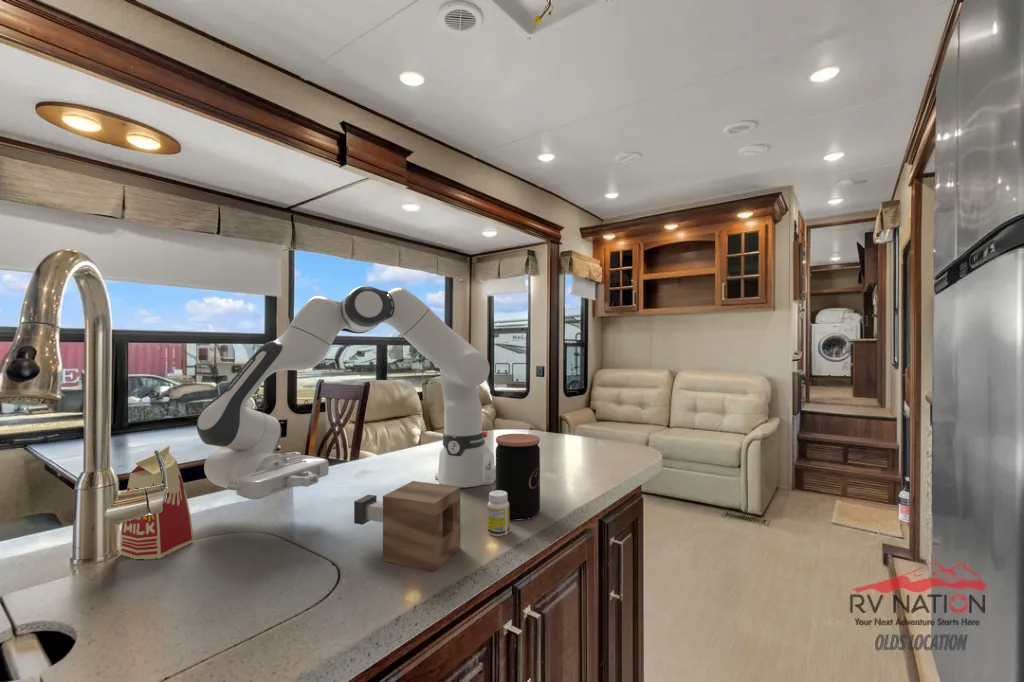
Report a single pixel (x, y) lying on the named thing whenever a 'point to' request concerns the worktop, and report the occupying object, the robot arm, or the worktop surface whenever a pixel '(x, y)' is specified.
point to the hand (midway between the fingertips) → (313, 481)
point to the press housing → (421, 525)
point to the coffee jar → (519, 473)
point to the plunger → (368, 510)
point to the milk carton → (167, 527)
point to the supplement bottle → (498, 513)
